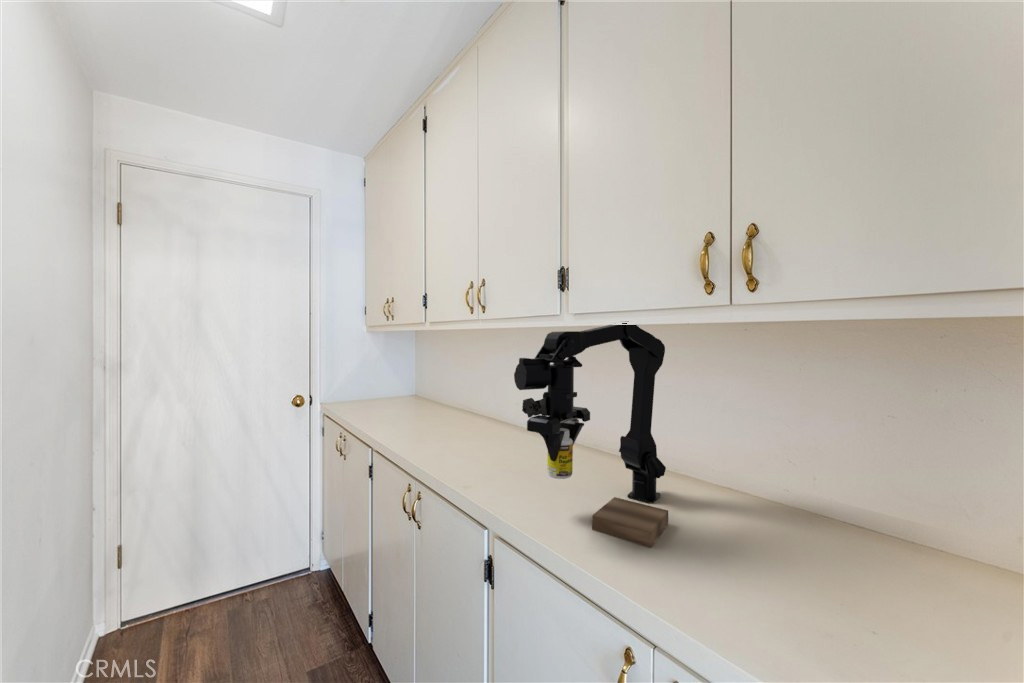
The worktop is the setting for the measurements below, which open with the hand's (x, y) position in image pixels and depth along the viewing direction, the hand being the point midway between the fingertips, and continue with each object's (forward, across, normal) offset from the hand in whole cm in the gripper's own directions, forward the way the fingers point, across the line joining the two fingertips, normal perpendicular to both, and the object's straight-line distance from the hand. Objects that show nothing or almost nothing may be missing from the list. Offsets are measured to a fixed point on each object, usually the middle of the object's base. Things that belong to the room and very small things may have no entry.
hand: (560, 457), depth 91 cm
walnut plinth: (+13, -4, +15) cm, 20 cm away
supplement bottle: (+4, 0, 0) cm, 4 cm away
